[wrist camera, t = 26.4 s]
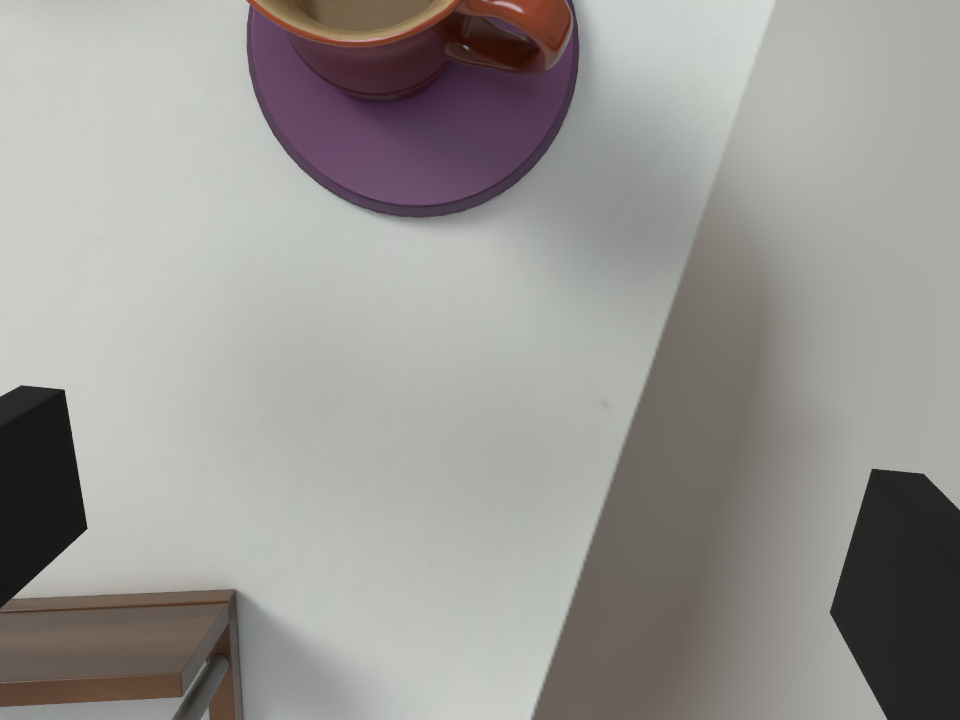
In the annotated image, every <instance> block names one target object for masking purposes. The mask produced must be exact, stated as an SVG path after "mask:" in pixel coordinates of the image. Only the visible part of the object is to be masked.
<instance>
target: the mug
mask: <svg viewBox="0 0 960 720" xmlns="http://www.w3.org/2000/svg"><path fill="white" fill-rule="evenodd" d="M246 1H247V2H248V3H249V4H250V5H251V6H253V7H254V8H255V9H256V10H257V11H258V12H259V13H261V14H262V15H263V16H265V17H266V18H267V19H269V20H270V21H272V22H273V23H275V24H276V25H278V26H280V27H281V28H283V29H284V31H285V33H286V35H287V38H288V40H289V42H290V43H291V45H292V47H293V49H294V50H295V52H296V53H297V55H298V56H299V57H300V59H301V60H302V61H303V62H304V64H305V65H306V66H307V67H308V68H309V69H310V70H311V71H312V72H314V73H315V74H316V75H317V76H318V77H320V78H321V79H323V80H324V81H325V82H327V83H329V84H330V85H332V86H334V87H335V88H337V89H339V90H340V91H342V92H345V93H347V94H349V95H352V96H354V97H357V98H361V99H366V100H375V101H384V100H393V99H398V98H404V97H407V96H409V95H411V94H413V93H415V92H417V91H419V90H421V89H422V88H424V87H426V86H427V85H429V84H430V83H432V82H433V81H434V80H435V79H436V78H437V77H438V76H439V75H440V74H441V73H442V72H443V70H444V69H445V68H446V66H447V65H448V63H449V62H450V60H452V61H455V62H458V63H461V64H464V65H468V66H474V67H481V68H486V69H491V70H495V71H499V72H503V73H506V74H510V75H515V76H526V77H527V76H537V75H541V74H543V73H545V72H547V71H549V70H550V69H551V68H553V66H554V65H555V64H556V63H557V62H558V60H559V59H560V57H561V56H562V54H563V52H564V50H565V48H566V46H567V44H568V41H569V39H570V37H571V33H572V29H573V15H572V12H571V10H570V7H569V5H568V4H567V2H566V1H565V0H246ZM488 17H489V18H494V19H498V20H501V21H504V22H506V23H508V24H510V25H512V26H514V27H516V28H517V29H519V30H520V31H522V32H523V33H525V34H526V35H520V34H516V33H513V32H510V31H508V30H506V29H504V28H502V27H500V26H499V25H497V24H496V23H495V22H493V21H492V20H491V19H489V18H488Z"/></svg>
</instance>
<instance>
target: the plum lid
mask: <svg viewBox="0 0 960 720" xmlns="http://www.w3.org/2000/svg"><path fill="white" fill-rule="evenodd" d="M565 1H566V2H567V4H568V5H569V7H570V10H571V12H572V15H573V29H572V33H571V37H570V39H569V41H568V44H567V46H566V48H565V50H564V52H563V54H562V56H561V57H560V59H559V60H558V62H557V63H556V64H555V65H554V66H553V68H551V69H550V70H549V71H547V72H545V73H543V74H541V75H537V76H527V77H526V76H515V75H510V74H506V73H503V72H499V71H495V70H491V69H486V68H481V67H474V66H468V65H464V64H461V63H458V62H455V61H452V60H450V62H449V63H448V65H447V66H446V68H445V69H444V70H443V72H442V73H441V74H440V75H439V76H438V77H437V78H436V79H435V80H434V81H433V82H432V83H430V84H429V85H427V86H426V87H424V88H422V89H421V90H419V91H417V92H415V93H413V94H411V95H409V96H407V97H404V98H398V99H393V100H384V101H375V100H366V99H361V98H357V97H354V96H352V95H349V94H347V93H345V92H342V91H340V90H339V89H337V88H335V87H334V86H332V85H330V84H329V83H327V82H325V81H324V80H323V79H321V78H320V77H318V76H317V75H316V74H315V73H314V72H312V71H311V70H310V69H309V68H308V67H307V66H306V65H305V64H304V62H303V61H302V60H301V59H300V57H299V56H298V55H297V53H296V52H295V50H294V49H293V47H292V45H291V43H290V42H289V40H288V38H287V35H286V33H285V31H284V29H283V28H281V27H280V26H278V25H276V24H275V23H273V22H272V21H270V20H269V19H267V18H266V17H265V16H263V15H262V14H261V13H259V12H258V11H257V10H256V9H255V8H254V7H253V6H251V5H250V8H249V15H248V22H247V55H248V63H249V72H250V76H251V80H252V84H253V88H254V92H255V95H256V98H257V100H258V103H259V105H260V108H261V111H262V113H263V115H264V117H265V119H266V121H267V123H268V125H269V127H270V128H271V130H272V132H273V134H274V136H275V137H276V138H277V140H278V141H279V143H280V144H281V145H282V147H283V148H284V150H285V151H286V152H287V154H288V155H289V156H290V157H291V158H292V159H293V160H294V161H295V162H296V163H297V164H298V166H299V167H300V168H301V169H302V170H303V171H304V172H306V173H307V174H308V175H309V176H310V177H312V178H313V179H314V180H315V181H316V182H318V183H319V184H320V185H321V186H323V187H324V188H326V189H328V190H329V191H331V192H332V193H334V194H335V195H337V196H338V197H340V198H342V199H345V200H347V201H349V202H351V203H353V204H355V205H357V206H360V207H363V208H366V209H369V210H372V211H375V212H378V213H383V214H389V215H394V216H400V217H420V218H421V217H433V216H443V215H447V214H452V213H457V212H461V211H464V210H467V209H470V208H472V207H475V206H478V205H481V204H483V203H485V202H486V201H488V200H490V199H492V198H494V197H496V196H498V195H500V194H501V193H503V192H504V191H505V190H507V189H508V188H510V187H511V186H513V185H514V184H515V183H517V182H518V181H519V180H520V179H521V178H522V177H523V176H524V175H525V174H527V173H528V172H529V171H530V170H531V169H532V168H533V167H534V165H535V164H536V163H537V162H538V161H539V159H540V158H541V157H542V156H543V155H544V153H545V152H546V151H547V149H548V148H549V146H550V145H551V143H552V141H553V140H554V138H555V137H556V135H557V134H558V132H559V130H560V127H561V125H562V123H563V121H564V119H565V117H566V115H567V112H568V109H569V106H570V103H571V100H572V96H573V93H574V89H575V83H576V78H577V72H578V59H579V40H578V26H577V21H576V16H575V10H574V5H573V2H572V0H565ZM488 18H489V17H488ZM489 19H491V20H492V21H493V22H495V23H496V24H497V25H499V26H500V27H502V28H504V29H506V30H508V31H510V32H513V33H516V34H520V35H526V34H525V33H523V32H522V31H520V30H519V29H517V28H516V27H514V26H512V25H510V24H508V23H506V22H504V21H501V20H498V19H494V18H489Z"/></svg>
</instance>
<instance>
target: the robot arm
mask: <svg viewBox="0 0 960 720" xmlns="http://www.w3.org/2000/svg"><path fill="white" fill-rule="evenodd" d="M87 529H88V528H87V522H86V516H85V510H84V504H83V498H82V492H81V486H80V480H79V474H78V468H77V462H76V456H75V450H74V444H73V438H72V432H71V426H70V420H69V414H68V408H67V402H66V396H65V390H63V389H53V388H42V387H32V386H22V385H21V386H19V387H18V388H16V389H14V390H12V391H10V392H8V393H6V394H4V395H3V396H1V397H0V608H2V607H3V606H4V605H5V604H6V603H7V602H8V601H9V600H10V599H11V598H12V597H14V596H15V595H16V594H17V593H18V592H19V591H20V590H21V589H22V588H23V587H25V586H26V585H27V584H28V583H29V582H30V581H31V580H32V579H33V578H34V577H35V576H37V575H38V574H39V573H40V572H41V571H42V570H43V569H44V568H45V567H46V566H47V565H49V564H50V563H51V562H52V561H53V560H54V559H55V558H56V557H57V556H58V555H59V554H61V553H62V552H63V551H64V550H65V549H66V548H67V547H68V546H69V545H70V544H71V543H73V542H74V541H75V540H76V539H77V538H78V537H79V536H80V535H81V534H82V533H83V532H85V531H86V530H87ZM830 614H831V616H832V618H833V619H834V621H835V623H836V625H837V627H838V629H839V631H840V632H841V634H842V636H843V638H844V640H845V642H846V644H847V645H848V647H849V649H850V651H851V652H852V655H853V656H854V658H855V660H856V662H857V664H858V666H859V668H860V669H861V671H862V673H863V675H864V677H865V679H866V681H867V682H868V684H869V686H870V688H871V690H872V692H873V694H874V695H875V697H876V699H877V701H878V703H879V705H880V706H881V708H882V710H883V712H884V714H885V716H886V718H887V720H960V510H959V509H958V508H957V507H956V506H955V505H954V504H953V503H952V502H951V501H950V500H949V499H948V498H947V497H946V496H945V495H944V494H943V493H942V492H941V491H940V490H939V489H938V488H937V487H936V486H935V485H934V484H933V483H932V482H931V481H930V480H929V479H928V478H927V477H926V476H925V475H924V474H919V473H909V472H899V471H889V470H878V469H872V471H871V474H870V477H869V481H868V484H867V488H866V491H865V494H864V498H863V502H862V505H861V508H860V511H859V515H858V518H857V522H856V525H855V529H854V532H853V535H852V539H851V542H850V546H849V549H848V552H847V556H846V559H845V563H844V566H843V569H842V573H841V576H840V580H839V583H838V586H837V590H836V593H835V597H834V600H833V604H832V607H831V610H830Z"/></svg>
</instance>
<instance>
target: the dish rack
mask: <svg viewBox="0 0 960 720" xmlns="http://www.w3.org/2000/svg"><path fill="white" fill-rule="evenodd" d="M205 660H206V665H205V667H204V668H203V670H202V672H201V673H200V675H199V676H198V678H197V680H196V681H195V683H194V685H193V686H192V688H191V690H190V691H189V693H188V694H187V696H186V698H185V699H184V701H183V703H182V704H181V706H180V707H179V709H178V711H177V712H176V714H175V716H174V717H173V719H172V720H201V718H202V716H203V714H204V712H205V710H206V709H207V707H208V705H209V716H210V720H243V717H242V700H241V683H240V666H239V650H238V633H237V616H236V598H235V590H213V591H191V592H169V593H147V594H124V595H102V596H80V597H58V598H36V599H14V600H9V601H8V602H7V603H6V604H5V605H4V606H3V607H2V608H0V707H7V706H25V705H44V704H62V703H81V702H99V701H118V700H136V699H155V698H173V697H182V696H183V695H184V694H185V692H186V690H187V689H188V687H189V685H190V684H191V682H192V681H193V679H194V677H195V676H196V674H197V673H198V671H199V669H200V668H201V666H202V665H203V663H204V661H205Z"/></svg>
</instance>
